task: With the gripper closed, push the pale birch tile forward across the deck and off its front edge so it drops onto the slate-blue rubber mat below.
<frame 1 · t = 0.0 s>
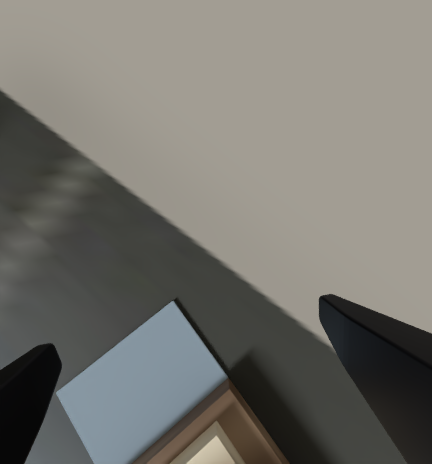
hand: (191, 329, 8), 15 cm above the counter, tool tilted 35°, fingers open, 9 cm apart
mat: (143, 383, 21), on the counter
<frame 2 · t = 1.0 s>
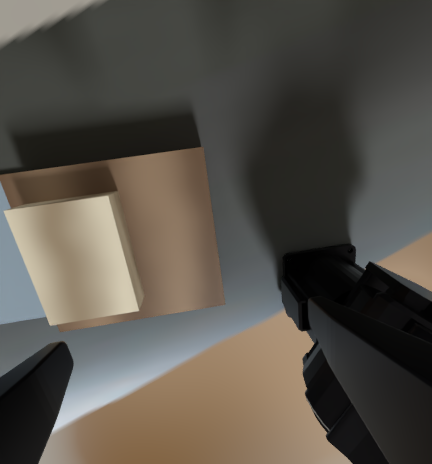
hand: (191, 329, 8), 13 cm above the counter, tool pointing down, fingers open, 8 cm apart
mat: (4, 254, 20), on the counter
tile: (89, 253, 17), point 3 cm above the counter, touching deck
deck: (134, 234, 20), on the counter
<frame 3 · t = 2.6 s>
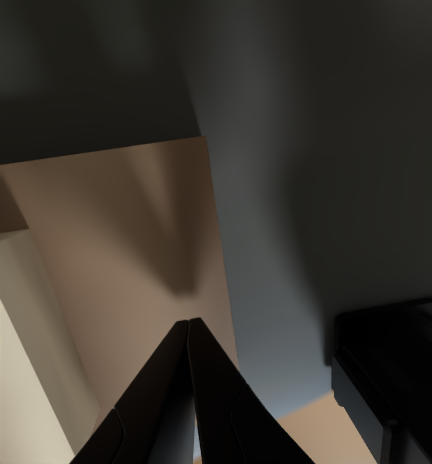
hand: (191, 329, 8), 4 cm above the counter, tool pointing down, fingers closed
deck: (88, 290, 12), on the counter
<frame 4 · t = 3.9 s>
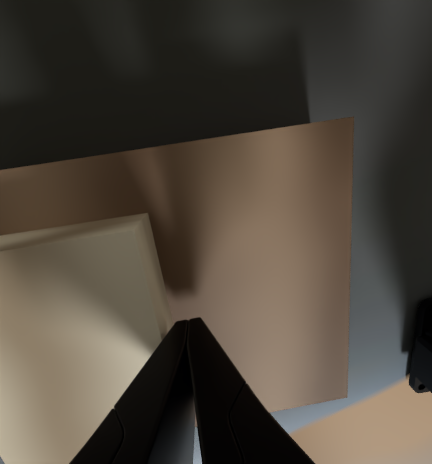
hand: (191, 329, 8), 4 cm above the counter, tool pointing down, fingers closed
tile: (91, 328, 9), point 3 cm above the counter, touching deck, gripper
deck: (186, 276, 12), on the counter
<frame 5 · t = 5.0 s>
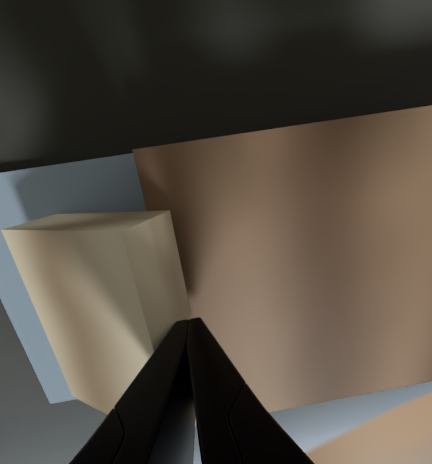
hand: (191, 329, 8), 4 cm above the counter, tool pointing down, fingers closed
mat: (95, 291, 12), on the counter
tile: (131, 305, 10), point 2 cm above the counter, tilted 31°, touching gripper
deck: (304, 256, 12), on the counter
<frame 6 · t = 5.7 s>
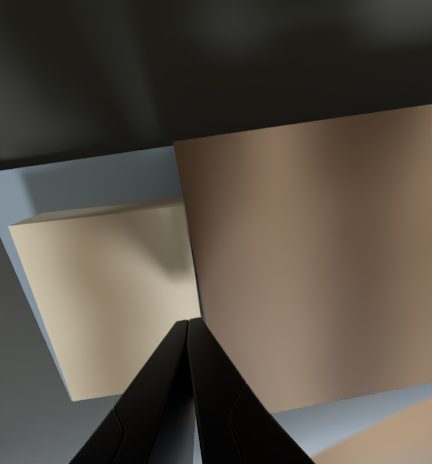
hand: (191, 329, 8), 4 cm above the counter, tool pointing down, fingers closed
mat: (119, 287, 12), on the counter
tile: (134, 288, 12), resting on mat
deck: (329, 251, 12), on the counter
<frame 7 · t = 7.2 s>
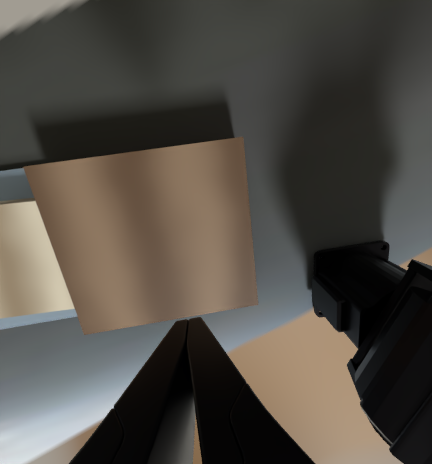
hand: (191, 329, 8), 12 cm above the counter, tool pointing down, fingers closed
mat: (23, 252, 19), on the counter
tile: (31, 252, 18), resting on mat
deck: (161, 231, 19), on the counter
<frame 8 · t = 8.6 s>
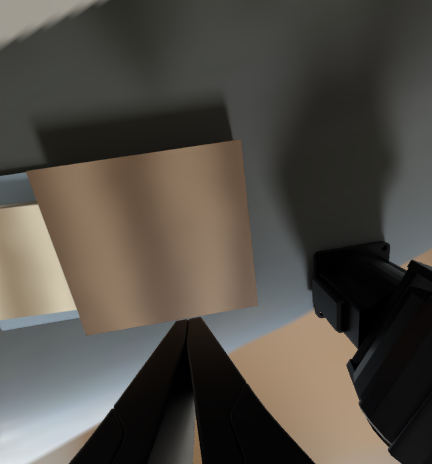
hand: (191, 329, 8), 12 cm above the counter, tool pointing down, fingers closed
mat: (27, 254, 19), on the counter
tile: (34, 254, 19), resting on mat
deck: (161, 233, 20), on the counter
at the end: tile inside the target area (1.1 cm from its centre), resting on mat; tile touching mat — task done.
